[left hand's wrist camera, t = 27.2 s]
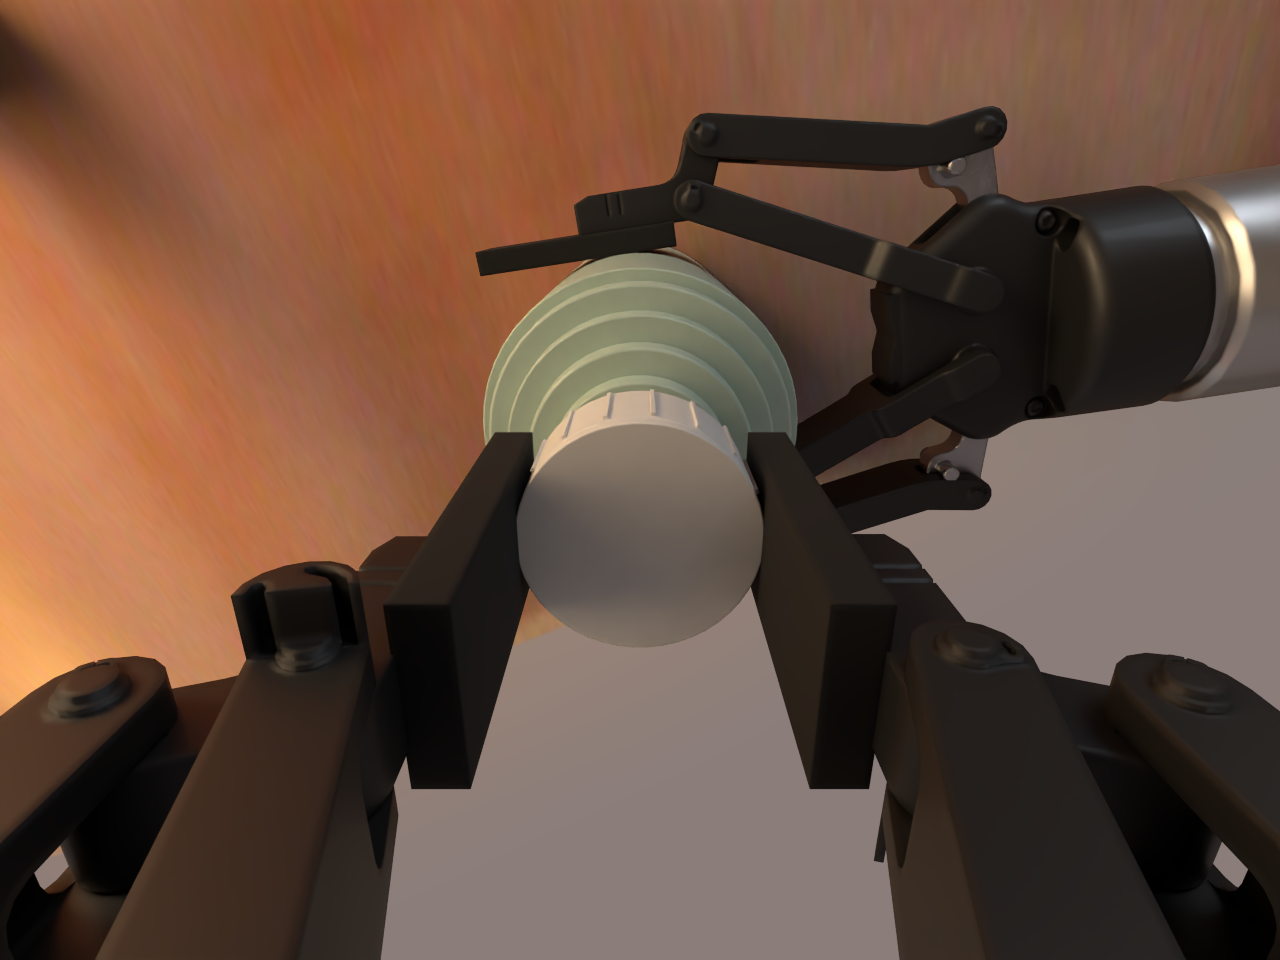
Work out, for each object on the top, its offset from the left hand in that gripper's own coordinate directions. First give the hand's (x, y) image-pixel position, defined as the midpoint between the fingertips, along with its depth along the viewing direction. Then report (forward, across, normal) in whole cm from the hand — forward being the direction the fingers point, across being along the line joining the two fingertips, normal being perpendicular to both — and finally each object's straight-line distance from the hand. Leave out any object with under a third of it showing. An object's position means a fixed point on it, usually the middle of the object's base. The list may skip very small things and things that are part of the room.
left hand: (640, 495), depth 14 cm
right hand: (+12, -5, -1) cm, 13 cm away
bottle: (+18, 0, 0) cm, 18 cm away
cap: (-2, 0, 0) cm, 2 cm away
